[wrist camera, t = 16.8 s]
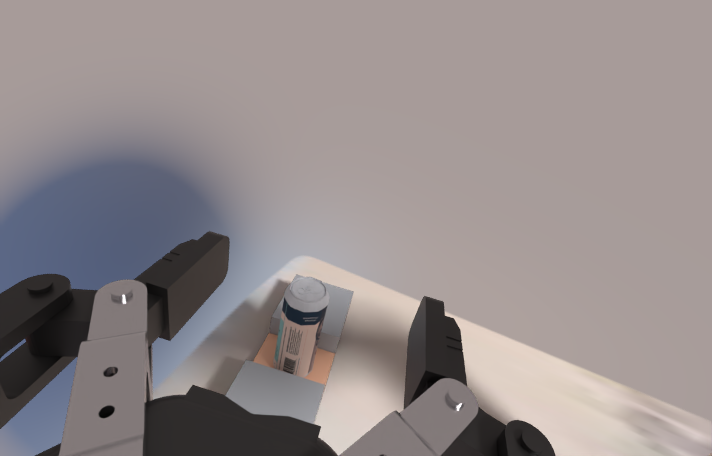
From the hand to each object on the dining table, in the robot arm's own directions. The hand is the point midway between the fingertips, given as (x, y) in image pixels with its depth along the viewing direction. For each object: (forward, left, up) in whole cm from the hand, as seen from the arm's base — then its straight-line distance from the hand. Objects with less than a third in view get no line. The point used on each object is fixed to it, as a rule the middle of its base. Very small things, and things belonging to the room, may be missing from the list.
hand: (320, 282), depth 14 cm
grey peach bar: (+4, -17, -28) cm, 33 cm away
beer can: (+3, -17, -27) cm, 32 cm away
